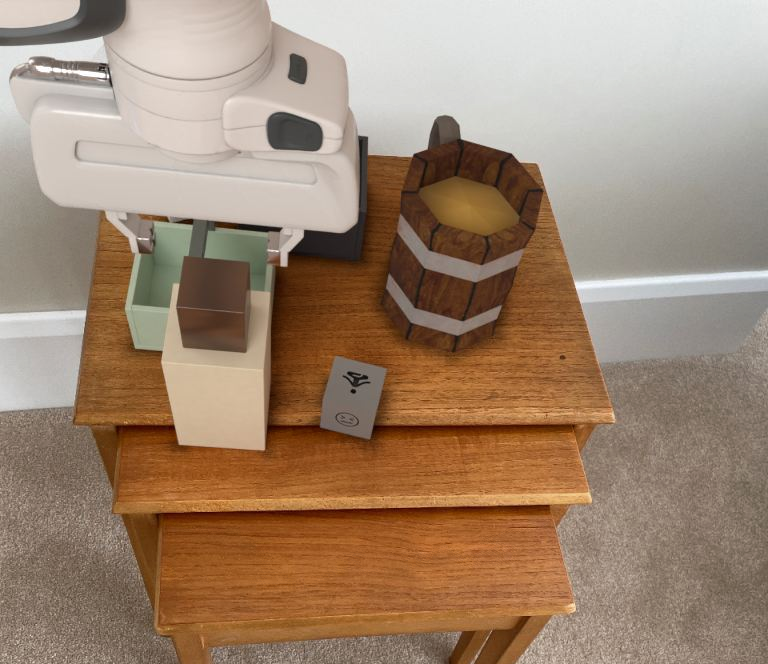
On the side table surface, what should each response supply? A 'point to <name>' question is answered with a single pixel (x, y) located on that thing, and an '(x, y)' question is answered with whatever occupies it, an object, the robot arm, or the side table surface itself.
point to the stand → (220, 384)
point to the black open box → (331, 242)
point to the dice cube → (352, 397)
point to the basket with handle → (165, 266)
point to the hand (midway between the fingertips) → (212, 253)
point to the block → (214, 304)
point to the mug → (458, 239)
